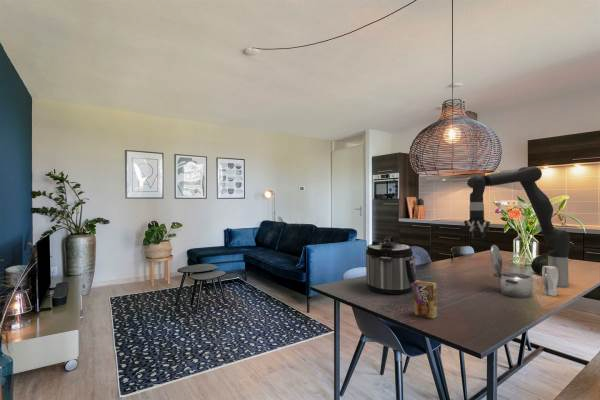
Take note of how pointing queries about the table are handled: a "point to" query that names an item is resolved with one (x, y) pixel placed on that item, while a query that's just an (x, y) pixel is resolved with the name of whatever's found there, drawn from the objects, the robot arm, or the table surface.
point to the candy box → (425, 299)
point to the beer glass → (550, 280)
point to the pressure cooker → (390, 267)
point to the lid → (496, 258)
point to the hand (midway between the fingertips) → (477, 237)
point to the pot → (515, 284)
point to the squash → (539, 263)
